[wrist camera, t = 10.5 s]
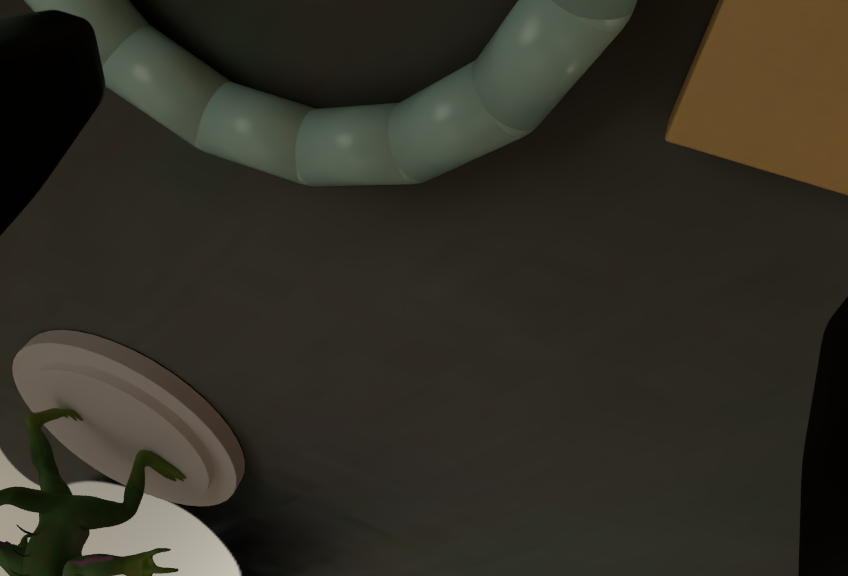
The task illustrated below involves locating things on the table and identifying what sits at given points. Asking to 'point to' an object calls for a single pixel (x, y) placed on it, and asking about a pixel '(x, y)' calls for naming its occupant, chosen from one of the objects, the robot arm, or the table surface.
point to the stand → (771, 90)
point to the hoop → (367, 124)
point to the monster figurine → (110, 449)
